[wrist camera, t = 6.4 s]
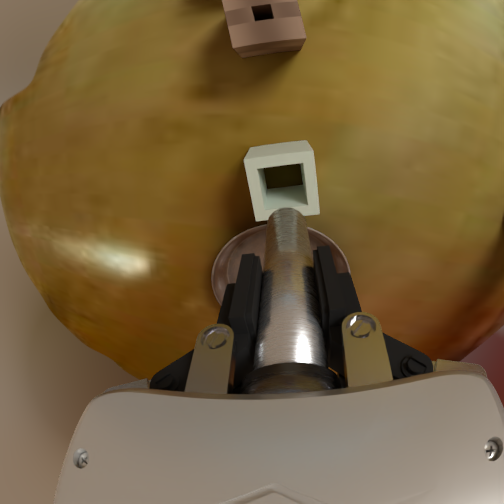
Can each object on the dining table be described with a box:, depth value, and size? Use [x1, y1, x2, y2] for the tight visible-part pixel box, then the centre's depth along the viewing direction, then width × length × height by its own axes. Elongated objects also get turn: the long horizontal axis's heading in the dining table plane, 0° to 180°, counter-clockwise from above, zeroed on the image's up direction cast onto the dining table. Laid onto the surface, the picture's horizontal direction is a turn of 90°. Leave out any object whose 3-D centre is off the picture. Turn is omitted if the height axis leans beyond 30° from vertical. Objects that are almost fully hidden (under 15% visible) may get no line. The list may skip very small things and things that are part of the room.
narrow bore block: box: [222, 0, 306, 58], centre depth 18 cm, size 6×6×6 cm
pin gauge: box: [240, 207, 341, 394], centre depth 11 cm, size 3×3×12 cm
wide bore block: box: [244, 140, 320, 221], centre depth 26 cm, size 6×6×6 cm
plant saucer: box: [211, 224, 350, 305], centre depth 35 cm, size 18×18×3 cm
